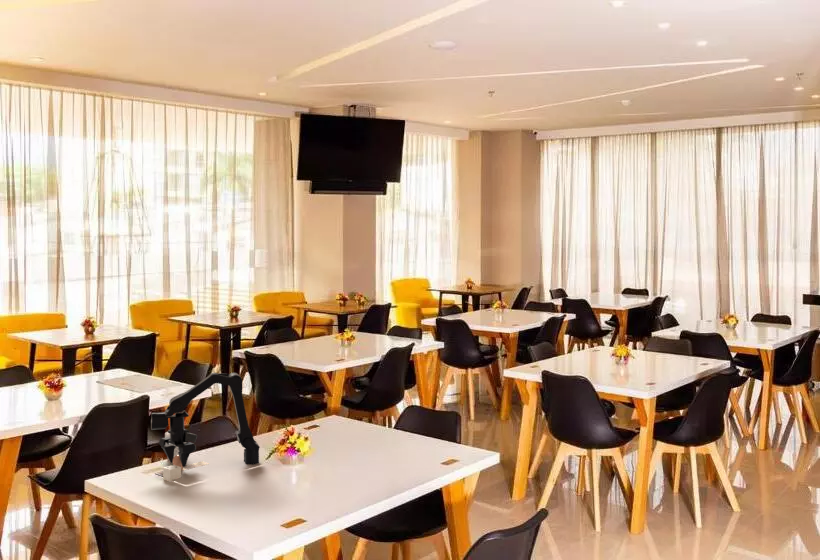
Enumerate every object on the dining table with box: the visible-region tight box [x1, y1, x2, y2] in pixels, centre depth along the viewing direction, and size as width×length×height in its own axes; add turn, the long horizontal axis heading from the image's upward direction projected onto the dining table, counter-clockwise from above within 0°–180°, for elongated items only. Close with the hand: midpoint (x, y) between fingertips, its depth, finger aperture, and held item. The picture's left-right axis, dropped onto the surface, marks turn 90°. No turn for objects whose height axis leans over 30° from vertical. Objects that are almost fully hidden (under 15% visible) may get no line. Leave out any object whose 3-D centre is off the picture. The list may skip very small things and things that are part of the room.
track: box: [154, 460, 210, 478], centre depth 339 cm, size 23×6×1 cm, turn 138°
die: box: [162, 464, 182, 483], centre depth 326 cm, size 5×5×5 cm
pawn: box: [172, 455, 184, 471], centre depth 337 cm, size 4×4×6 cm
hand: (177, 464), depth 337 cm, fingers open, 9 cm apart
